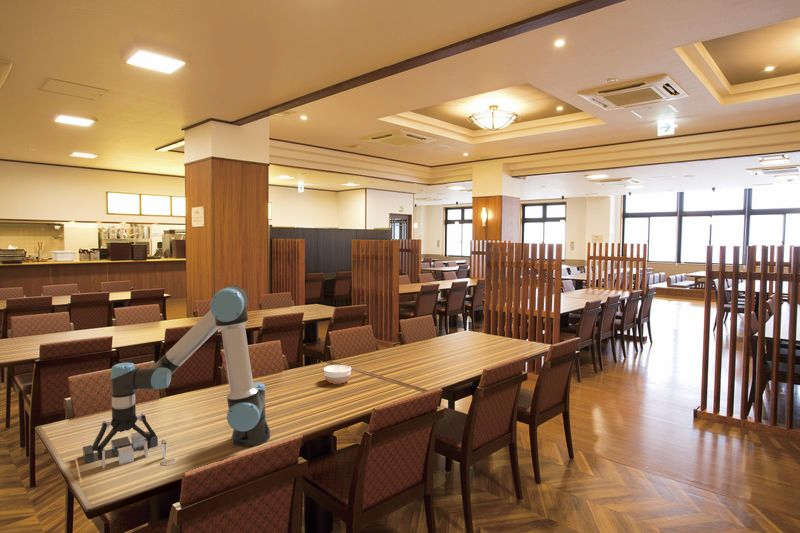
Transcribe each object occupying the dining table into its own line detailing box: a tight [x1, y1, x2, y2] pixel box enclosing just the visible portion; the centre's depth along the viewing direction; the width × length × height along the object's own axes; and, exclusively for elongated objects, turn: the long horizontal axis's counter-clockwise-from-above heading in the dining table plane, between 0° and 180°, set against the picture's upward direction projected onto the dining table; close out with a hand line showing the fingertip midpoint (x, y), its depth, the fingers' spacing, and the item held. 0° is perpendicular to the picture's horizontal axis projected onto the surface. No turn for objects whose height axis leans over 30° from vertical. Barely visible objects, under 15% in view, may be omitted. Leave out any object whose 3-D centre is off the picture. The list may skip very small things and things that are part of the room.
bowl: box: [323, 364, 352, 385], centre depth 269 cm, size 16×16×8 cm
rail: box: [82, 431, 159, 465], centre depth 180 cm, size 8×24×4 cm, turn 129°
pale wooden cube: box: [117, 446, 135, 466], centre depth 172 cm, size 4×4×5 cm
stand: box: [159, 439, 176, 466], centre depth 173 cm, size 8×5×8 cm
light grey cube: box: [130, 431, 145, 450], centre depth 183 cm, size 4×4×5 cm
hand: (125, 461), depth 172 cm, fingers open, 13 cm apart
